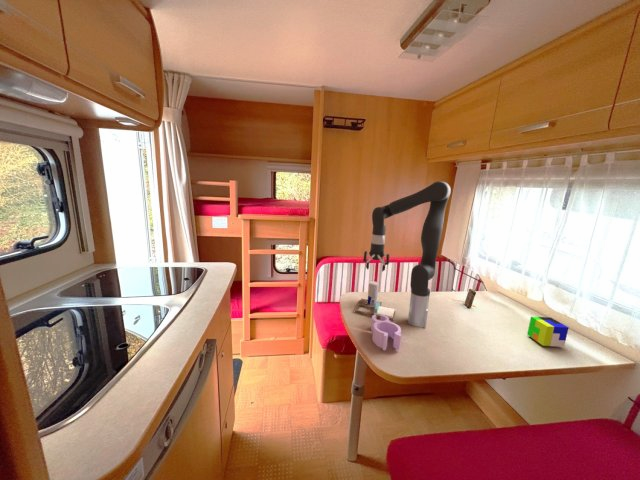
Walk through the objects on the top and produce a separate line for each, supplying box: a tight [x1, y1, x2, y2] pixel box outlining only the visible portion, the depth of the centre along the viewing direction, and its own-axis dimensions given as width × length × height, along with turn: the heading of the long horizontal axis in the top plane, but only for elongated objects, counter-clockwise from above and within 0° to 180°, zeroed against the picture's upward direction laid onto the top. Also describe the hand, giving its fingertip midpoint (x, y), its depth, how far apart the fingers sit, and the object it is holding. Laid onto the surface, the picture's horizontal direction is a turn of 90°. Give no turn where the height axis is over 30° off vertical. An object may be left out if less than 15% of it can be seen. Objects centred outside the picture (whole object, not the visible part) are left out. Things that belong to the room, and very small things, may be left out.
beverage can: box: [366, 280, 379, 307], centre depth 159 cm, size 6×6×15 cm
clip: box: [370, 315, 402, 351], centre depth 125 cm, size 20×12×7 cm, turn 7°
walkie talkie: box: [451, 282, 481, 309], centre depth 165 cm, size 13×13×18 cm
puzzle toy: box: [526, 316, 569, 348], centre depth 130 cm, size 10×10×10 cm
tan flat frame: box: [353, 298, 396, 322], centre depth 155 cm, size 22×19×2 cm
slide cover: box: [374, 301, 396, 318], centre depth 149 cm, size 10×10×4 cm
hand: (375, 270), depth 151 cm, fingers open, 8 cm apart
